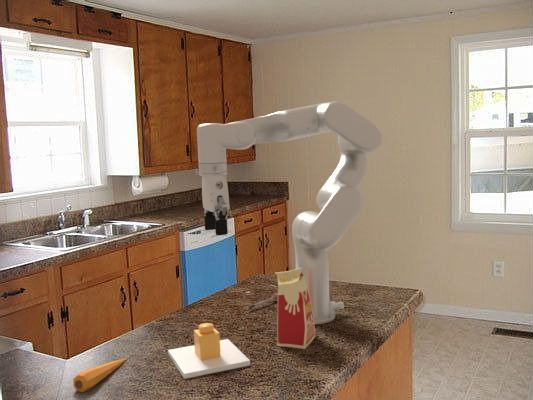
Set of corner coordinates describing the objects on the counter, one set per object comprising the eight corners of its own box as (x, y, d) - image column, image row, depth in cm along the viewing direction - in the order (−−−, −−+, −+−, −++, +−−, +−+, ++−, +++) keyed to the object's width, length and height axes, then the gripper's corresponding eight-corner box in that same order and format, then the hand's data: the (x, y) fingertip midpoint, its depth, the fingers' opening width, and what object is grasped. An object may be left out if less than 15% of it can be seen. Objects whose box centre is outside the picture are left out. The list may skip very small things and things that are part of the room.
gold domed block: (214, 349, 142) (212, 320, 141) (220, 356, 137) (219, 326, 136) (194, 353, 140) (193, 324, 139) (200, 360, 135) (199, 330, 134)
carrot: (83, 398, 122) (90, 380, 122) (67, 388, 123) (73, 370, 123) (132, 370, 141) (138, 354, 141) (118, 361, 143) (123, 345, 142)
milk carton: (315, 336, 151) (313, 263, 149) (306, 349, 143) (304, 272, 140) (283, 333, 154) (280, 262, 152) (272, 346, 146) (269, 270, 143)
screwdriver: (251, 313, 173) (250, 304, 173) (244, 311, 175) (243, 302, 175) (300, 294, 192) (299, 285, 192) (293, 293, 194) (293, 284, 194)
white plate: (228, 343, 149) (227, 322, 148) (250, 365, 134) (249, 342, 134) (168, 354, 143) (166, 332, 142) (184, 378, 128) (183, 354, 127)
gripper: (236, 170, 146) (239, 235, 148) (216, 167, 162) (219, 226, 164) (209, 172, 143) (212, 238, 145) (190, 169, 159) (194, 229, 161)
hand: (216, 232), depth 154 cm, fingers open, 9 cm apart
